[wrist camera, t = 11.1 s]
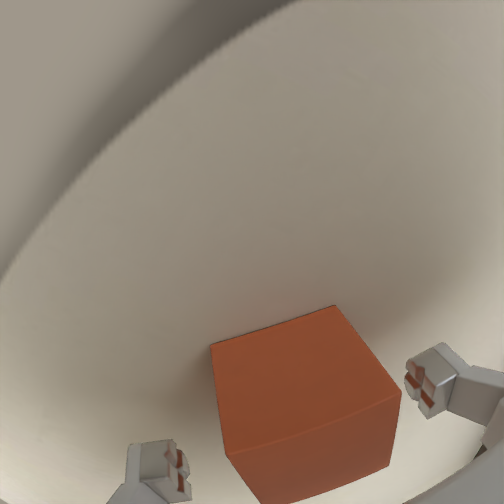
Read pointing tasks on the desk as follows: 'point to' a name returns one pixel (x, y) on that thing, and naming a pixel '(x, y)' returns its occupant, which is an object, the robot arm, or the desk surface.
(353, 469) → the block
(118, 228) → the desk surface
